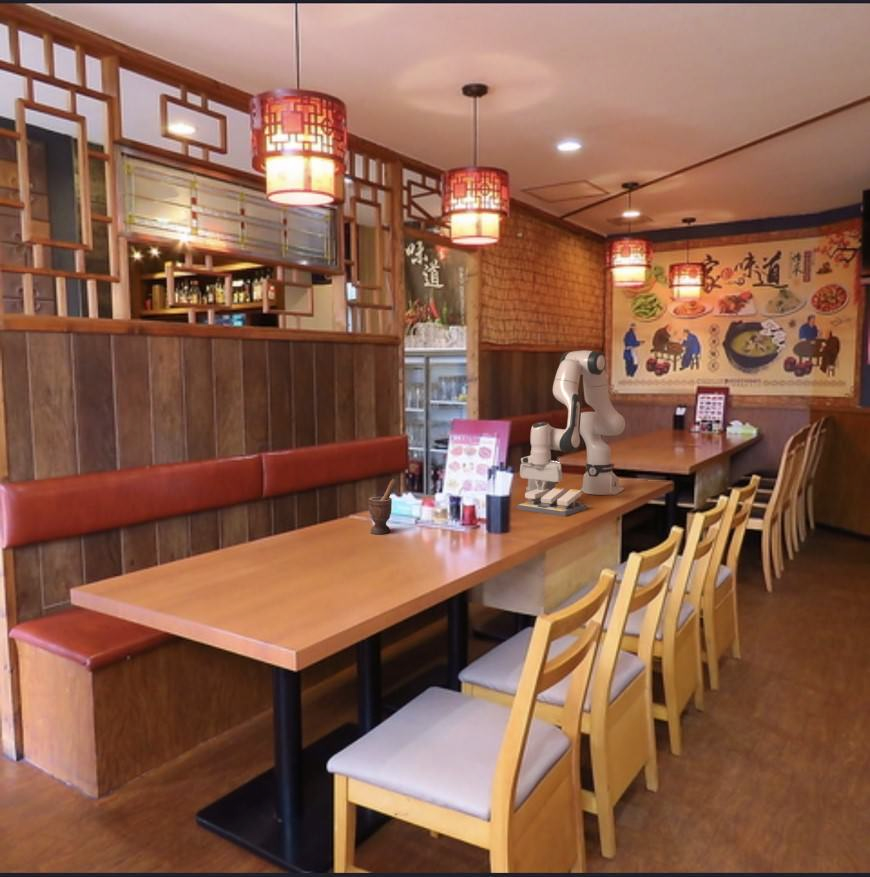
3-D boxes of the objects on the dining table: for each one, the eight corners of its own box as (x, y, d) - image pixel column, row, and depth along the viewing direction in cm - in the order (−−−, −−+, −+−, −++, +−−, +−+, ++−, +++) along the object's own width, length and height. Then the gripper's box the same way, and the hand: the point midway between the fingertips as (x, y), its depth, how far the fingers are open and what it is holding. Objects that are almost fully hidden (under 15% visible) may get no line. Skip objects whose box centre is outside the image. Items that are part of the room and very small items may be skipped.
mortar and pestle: (384, 527, 288) (383, 476, 286) (401, 529, 283) (400, 478, 281) (365, 533, 278) (363, 481, 276) (382, 536, 273) (381, 483, 271)
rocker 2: (555, 491, 324) (554, 486, 323) (565, 492, 320) (564, 488, 320) (541, 502, 315) (540, 497, 315) (551, 503, 312) (550, 499, 311)
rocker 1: (540, 492, 329) (540, 487, 329) (549, 493, 326) (549, 488, 325) (525, 497, 320) (525, 492, 320) (534, 498, 317) (534, 494, 316)
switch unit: (539, 502, 332) (539, 492, 332) (586, 509, 316) (587, 498, 316) (517, 509, 318) (517, 498, 318) (565, 516, 303) (565, 505, 302)
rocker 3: (571, 493, 318) (570, 488, 318) (581, 494, 315) (581, 490, 315) (557, 504, 310) (556, 499, 309) (567, 506, 307) (567, 501, 306)
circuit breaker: (558, 499, 339) (558, 467, 337) (527, 499, 339) (527, 467, 338) (556, 496, 346) (556, 465, 345) (526, 496, 347) (526, 465, 345)
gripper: (565, 460, 319) (565, 491, 320) (525, 456, 332) (526, 486, 334) (557, 462, 314) (557, 493, 316) (517, 458, 327) (518, 488, 329)
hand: (541, 490), depth 325 cm, fingers closed, pressing on rocker 1
